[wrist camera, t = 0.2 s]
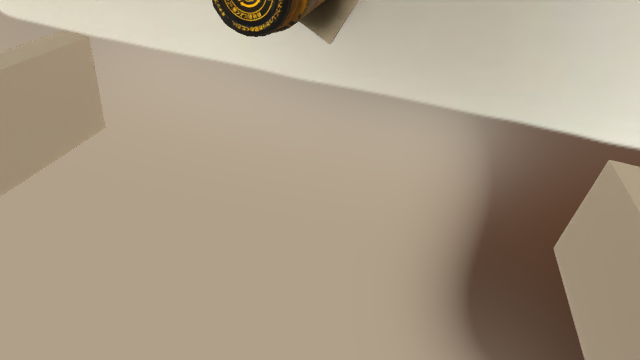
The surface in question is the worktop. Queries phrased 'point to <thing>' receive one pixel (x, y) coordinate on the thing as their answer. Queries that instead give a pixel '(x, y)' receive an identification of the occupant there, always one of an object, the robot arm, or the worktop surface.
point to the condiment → (284, 15)
